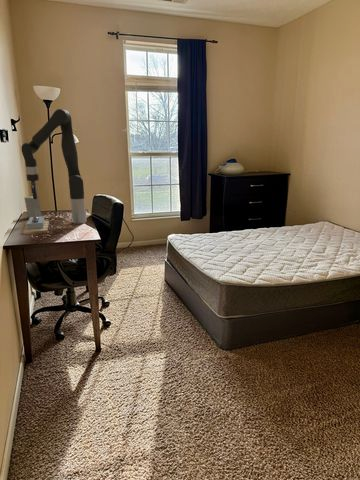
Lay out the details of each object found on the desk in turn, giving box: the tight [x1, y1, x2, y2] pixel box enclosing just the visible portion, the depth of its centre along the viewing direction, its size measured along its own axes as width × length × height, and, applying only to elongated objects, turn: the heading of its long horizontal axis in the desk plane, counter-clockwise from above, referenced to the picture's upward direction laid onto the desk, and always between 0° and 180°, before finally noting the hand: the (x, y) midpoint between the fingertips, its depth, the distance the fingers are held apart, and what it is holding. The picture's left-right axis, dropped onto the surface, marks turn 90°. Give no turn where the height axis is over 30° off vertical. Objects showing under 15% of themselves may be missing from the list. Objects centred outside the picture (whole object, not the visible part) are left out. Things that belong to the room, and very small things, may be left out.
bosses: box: [32, 217, 39, 223], centre depth 211 cm, size 12×4×5 cm, turn 20°
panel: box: [26, 215, 46, 229], centre depth 214 cm, size 21×9×4 cm, turn 20°
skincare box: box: [24, 195, 43, 219], centre depth 243 cm, size 8×7×16 cm
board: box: [22, 219, 50, 235], centre depth 213 cm, size 30×14×2 cm, turn 20°
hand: (35, 198), depth 224 cm, fingers open, 3 cm apart
